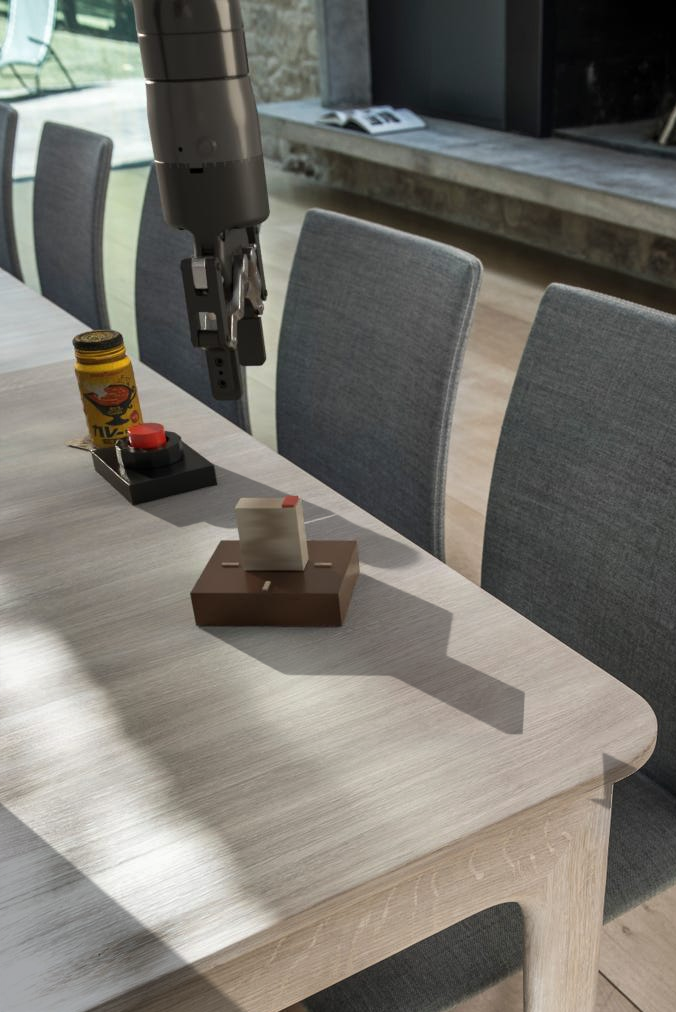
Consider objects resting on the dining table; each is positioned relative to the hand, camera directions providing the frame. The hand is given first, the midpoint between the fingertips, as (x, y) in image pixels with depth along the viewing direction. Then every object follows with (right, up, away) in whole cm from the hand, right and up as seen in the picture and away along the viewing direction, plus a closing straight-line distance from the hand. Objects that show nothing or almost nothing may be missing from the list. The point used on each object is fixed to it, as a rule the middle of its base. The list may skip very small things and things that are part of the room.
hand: (241, 381), depth 89 cm
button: (-16, +2, +30) cm, 34 cm away
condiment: (-23, +5, +41) cm, 47 cm away
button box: (-16, -1, +32) cm, 35 cm away
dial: (+2, -13, +6) cm, 15 cm away
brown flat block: (+2, -16, +8) cm, 18 cm away
